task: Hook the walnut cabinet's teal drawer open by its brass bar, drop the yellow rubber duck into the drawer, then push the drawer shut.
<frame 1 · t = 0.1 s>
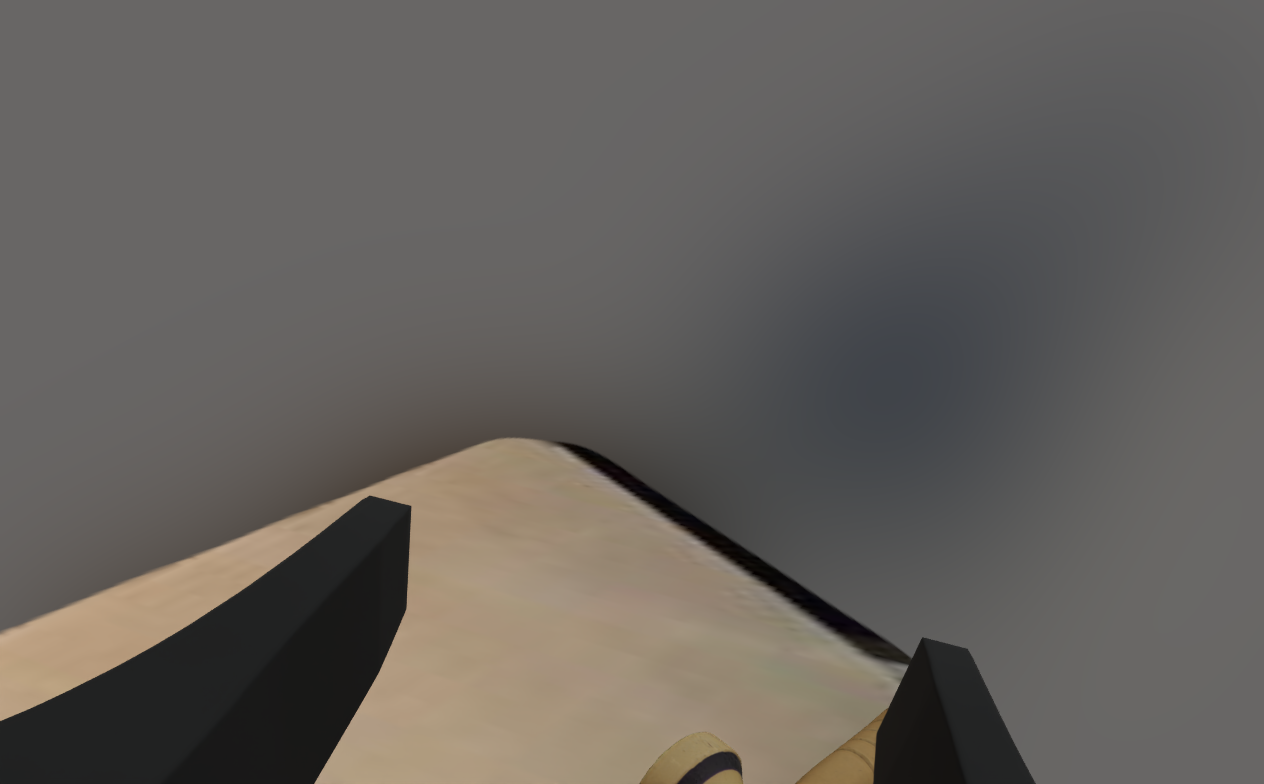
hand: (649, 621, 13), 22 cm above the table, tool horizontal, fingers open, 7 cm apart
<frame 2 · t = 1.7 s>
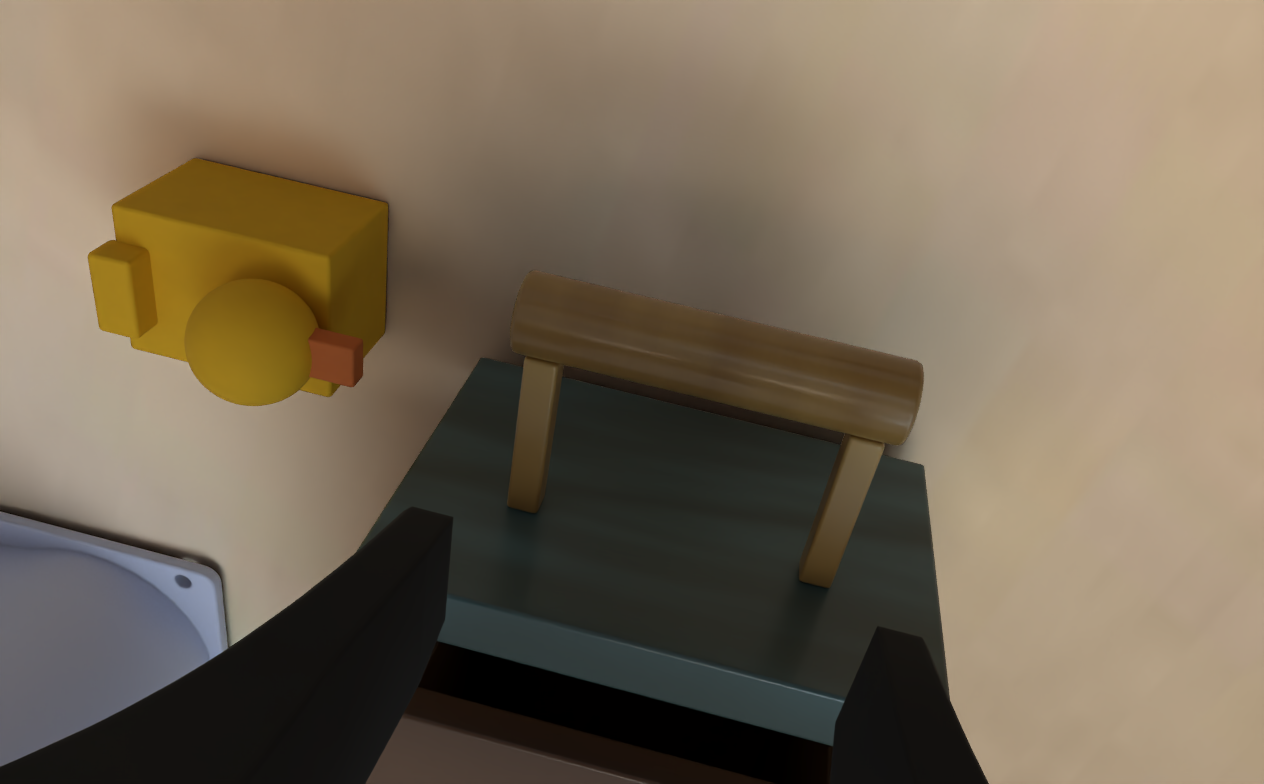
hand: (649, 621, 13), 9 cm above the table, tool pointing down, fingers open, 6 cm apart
drawer: (642, 643, 21), point 4 cm above the table, slide at 1.0 cm
duck: (293, 247, 22), on the table
cabinet: (640, 648, 27), on the table
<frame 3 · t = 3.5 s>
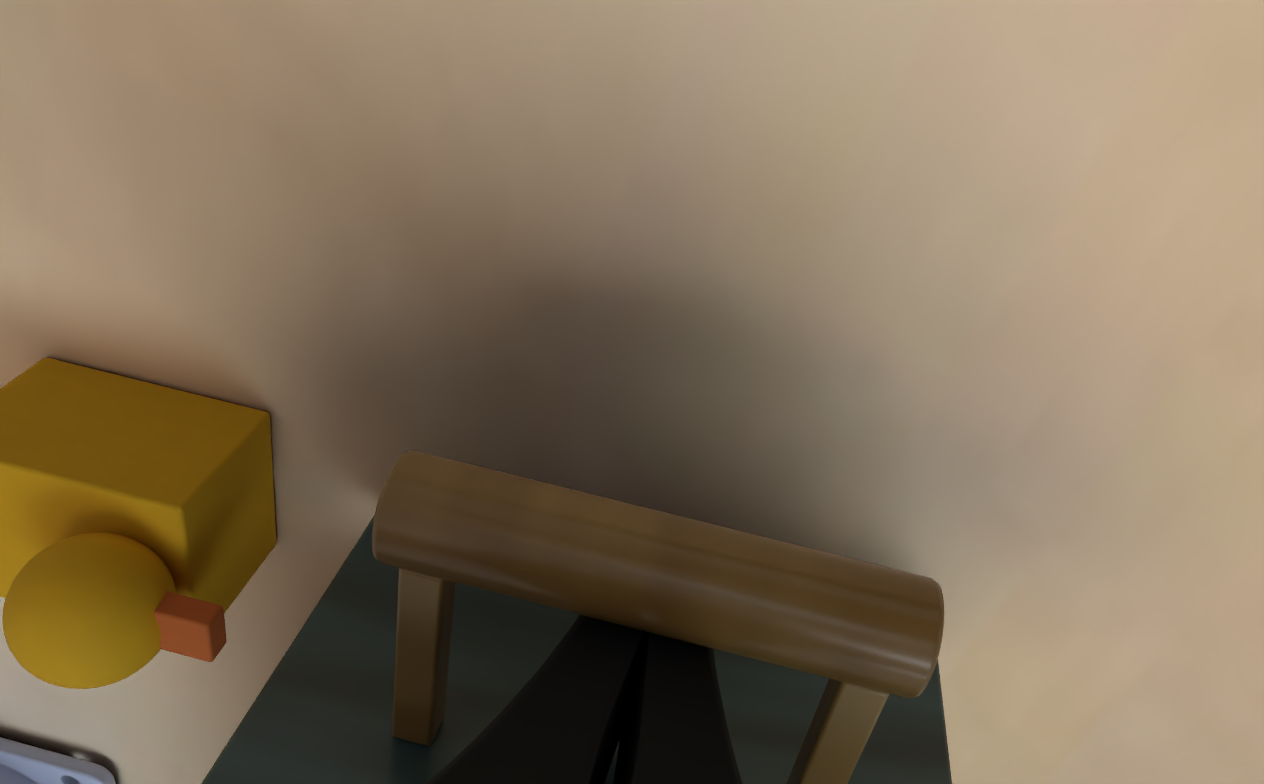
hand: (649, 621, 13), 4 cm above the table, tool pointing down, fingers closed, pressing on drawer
duck: (166, 453, 19), on the table
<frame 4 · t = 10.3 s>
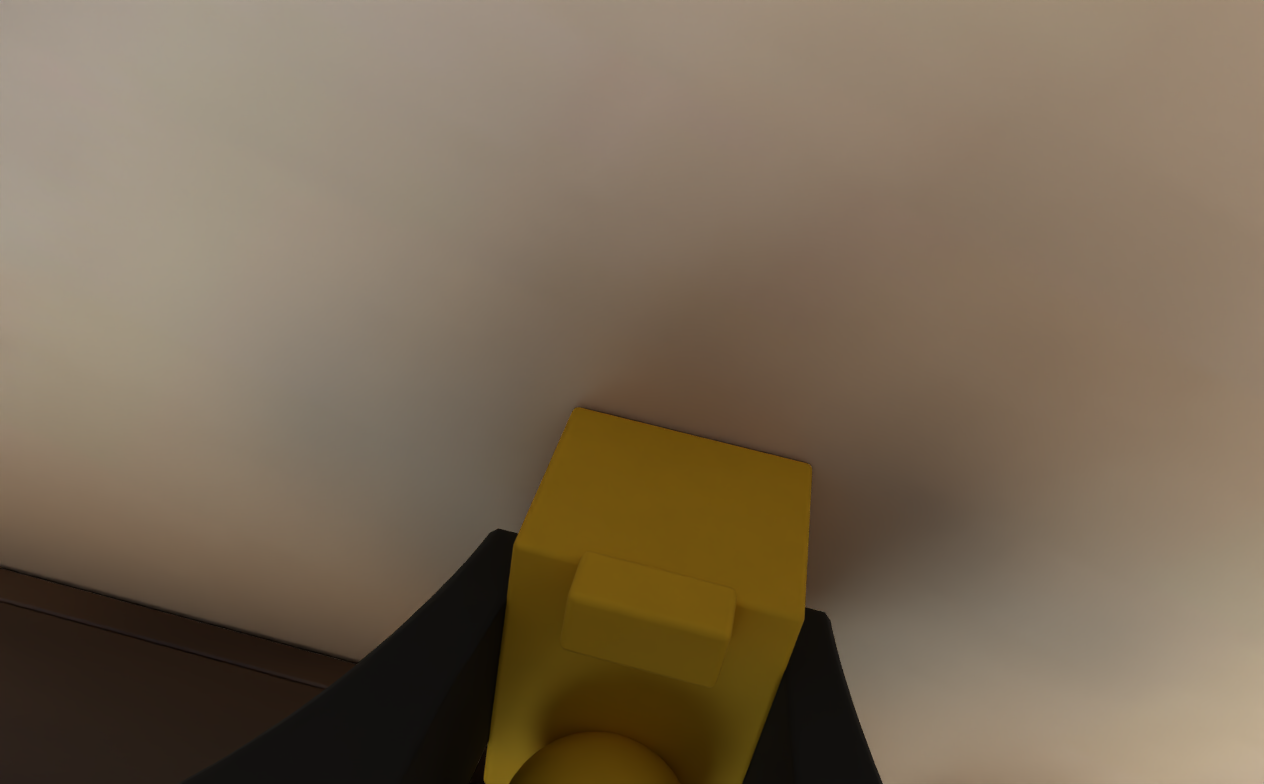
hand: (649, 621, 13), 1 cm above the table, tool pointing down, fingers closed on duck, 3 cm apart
duck: (663, 553, 15), on the table, touching gripper
cabinet: (128, 778, 21), on the table
when the fingers open (6 cm above the table, at t = 14.4 s): duck drops 3 cm, resting on drawer.
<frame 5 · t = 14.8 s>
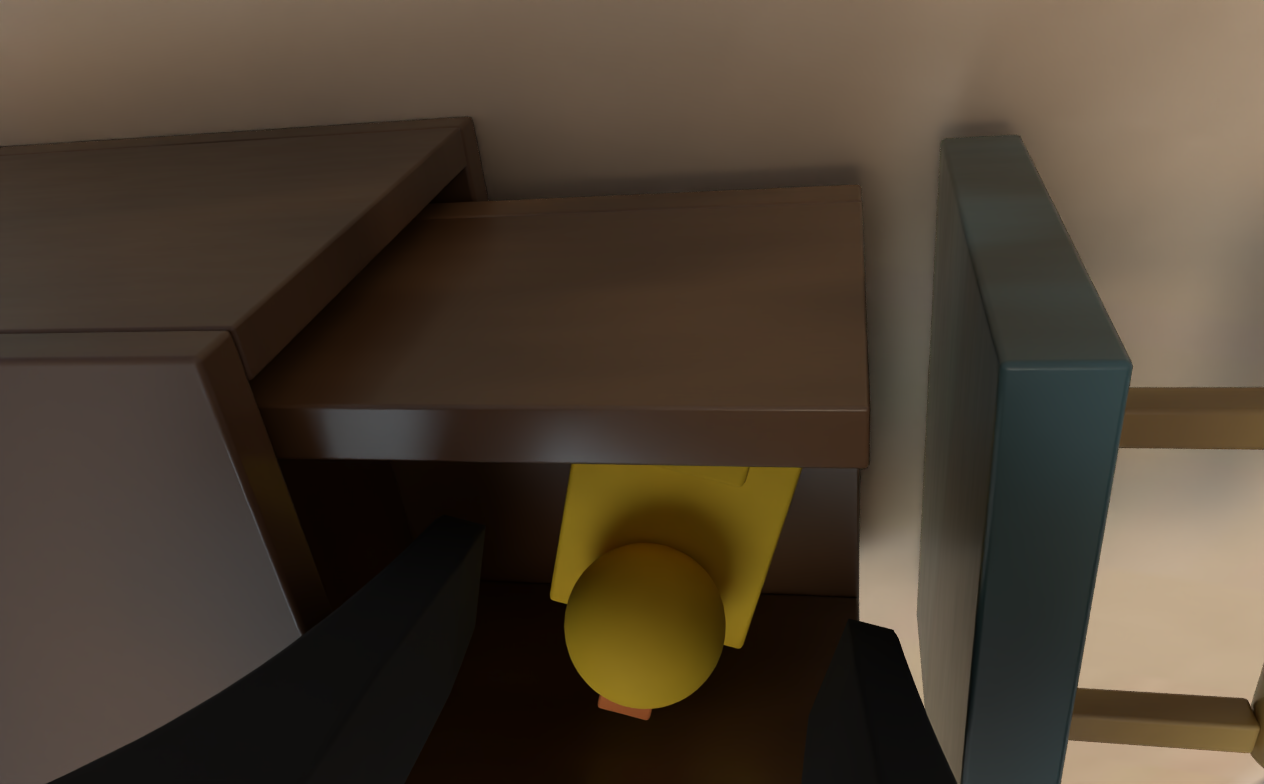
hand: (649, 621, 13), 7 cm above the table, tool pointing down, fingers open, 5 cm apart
drawer: (768, 530, 15), point 4 cm above the table, slide at 8.0 cm, touching duck
duck: (694, 421, 18), point 2 cm above the table, touching drawer
cabinet: (242, 386, 22), on the table
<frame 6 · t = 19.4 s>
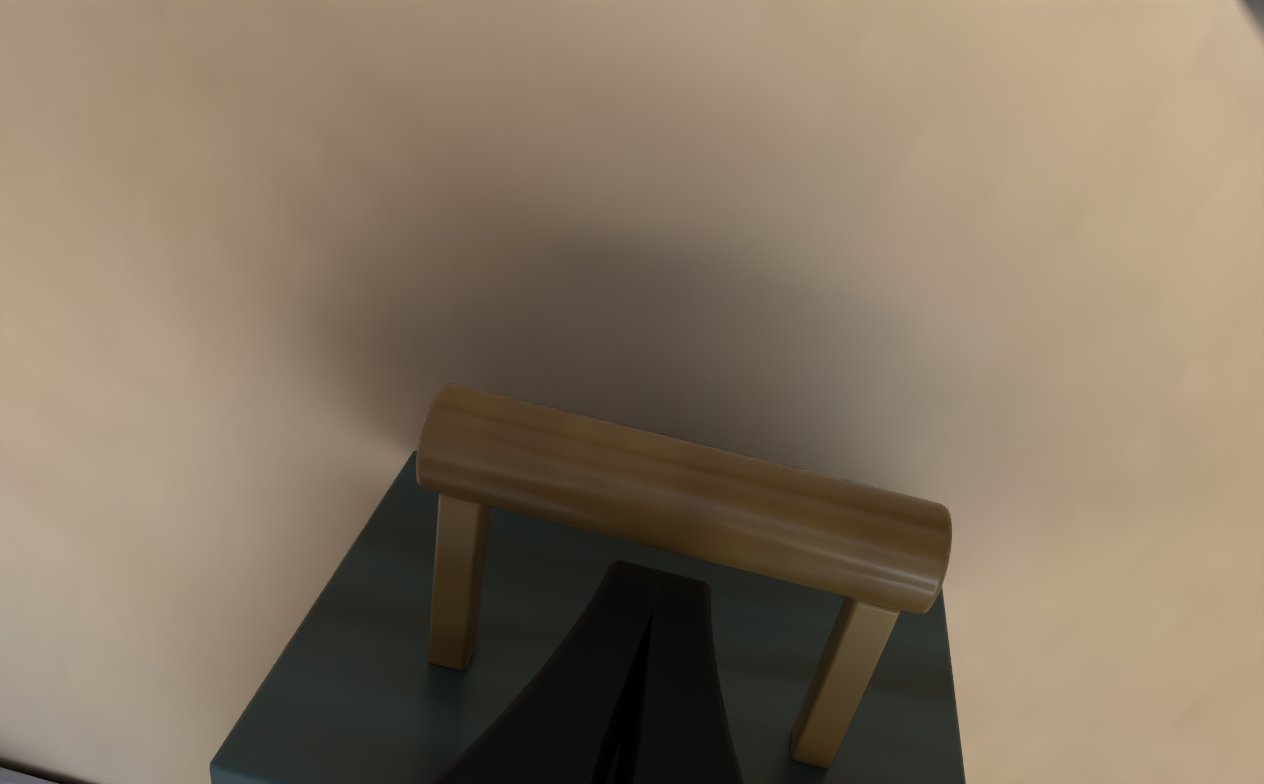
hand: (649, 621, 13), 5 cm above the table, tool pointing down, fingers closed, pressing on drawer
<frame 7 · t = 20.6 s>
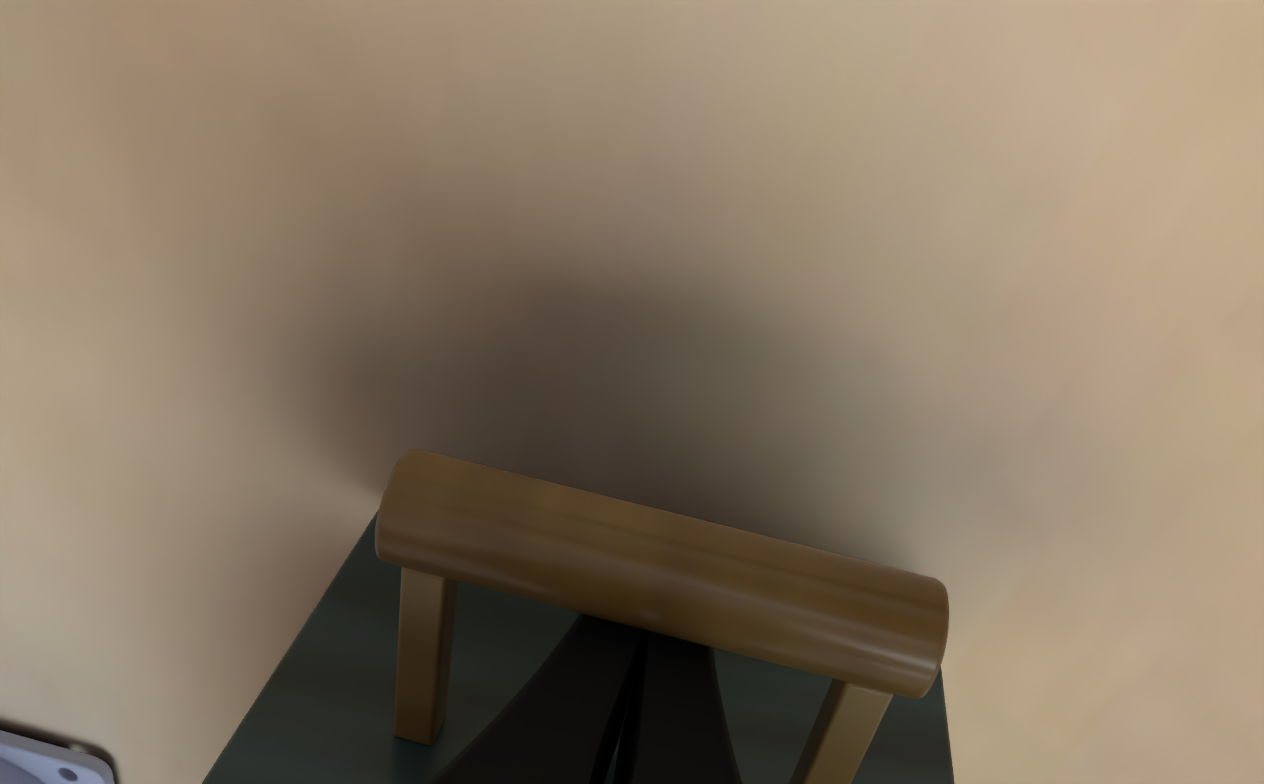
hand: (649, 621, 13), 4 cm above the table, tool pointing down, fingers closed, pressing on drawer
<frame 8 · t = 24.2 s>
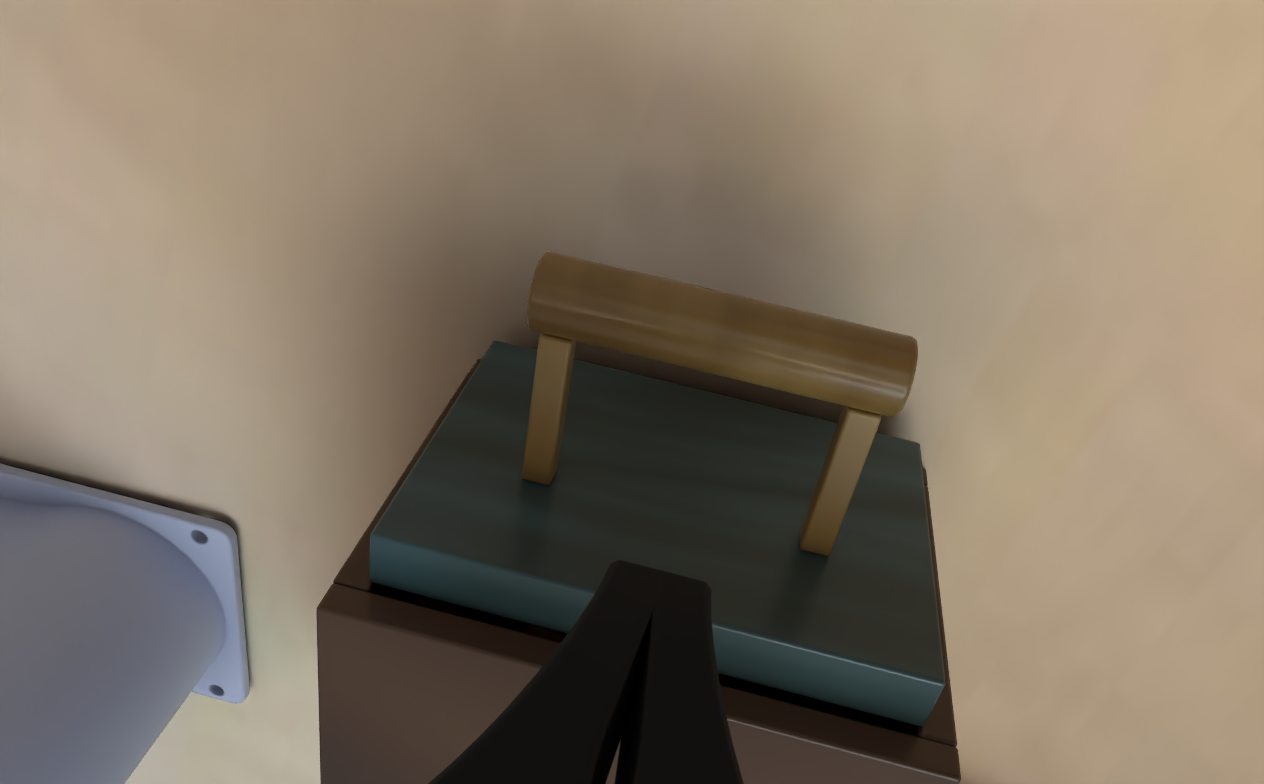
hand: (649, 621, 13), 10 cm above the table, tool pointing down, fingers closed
drawer: (649, 614, 22), point 4 cm above the table, slide at 0.0 cm, touching cabinet, duck
duck: (640, 581, 25), point 2 cm above the table, touching drawer
cabinet: (651, 601, 28), on the table
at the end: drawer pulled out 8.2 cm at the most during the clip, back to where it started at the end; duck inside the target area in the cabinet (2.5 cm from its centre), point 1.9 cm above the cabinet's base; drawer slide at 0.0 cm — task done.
